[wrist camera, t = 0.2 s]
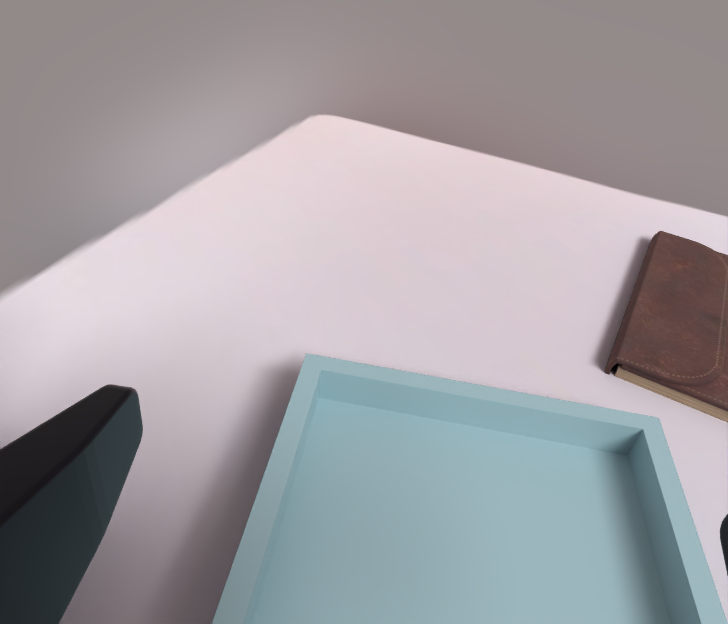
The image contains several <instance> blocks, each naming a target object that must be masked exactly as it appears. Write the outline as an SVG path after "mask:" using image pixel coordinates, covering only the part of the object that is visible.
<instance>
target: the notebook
mask: <svg viewBox="0 0 728 624" xmlns="http://www.w3.org/2000/svg"><path fill="white" fill-rule="evenodd" d="M617 363H618V366H617V369H616V372H615V375H614V376H616V377H618V378H621V379H623V380H626V381H628V382H631V383H633V384H636V385H638V386H640V387H643V388H645V389H648V390H650V391H653V392H655V393H658V394H660V395H662V396H665V397H667V398H670V399H672V400H675V401H677V402H680V403H682V404H684V405H687V406H689V407H692V408H694V409H697V410H699V411H701V412H704V413H706V414H709V415H711V416H714V417H716V418H719V419H721V420H723V421H726V422H728V255H725V254H722V253H719V252H716V251H714V250H712V249H711V248H709V247H707V246H705V245H702V244H700V243H698V242H695V241H692V240H689V239H686V238H682V237H679V236H676V235H673V234H670V233H666V232H663V231H659V232H658V233H657V234H655V235H654V236H653V238H652V240H651V243H650V245H649V248H648V251H647V254H646V257H645V259H644V262H643V265H642V268H641V271H640V274H639V276H638V279H637V282H636V285H635V288H634V290H633V293H632V296H631V299H630V302H629V305H628V307H627V310H626V313H625V316H624V319H623V321H622V324H621V327H620V330H619V333H618V335H617V338H616V341H615V344H614V347H613V350H612V352H611V355H610V358H609V361H608V364H607V366H606V369H605V373H606V374H610V371H611V368H612V367H613V366H614V365H615V364H617Z"/></svg>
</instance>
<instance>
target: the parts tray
mask: <svg viewBox="0 0 728 624" xmlns="http://www.w3.org/2000/svg"><path fill="white" fill-rule="evenodd" d="M212 624H728V623H727V620H726V617H725V614H724V611H723V608H722V605H721V602H720V599H719V596H718V593H717V590H716V587H715V584H714V581H713V578H712V575H711V572H710V569H709V566H708V563H707V560H706V557H705V554H704V551H703V548H702V545H701V542H700V539H699V536H698V533H697V530H696V527H695V524H694V521H693V518H692V515H691V512H690V509H689V506H688V503H687V500H686V497H685V494H684V491H683V488H682V485H681V482H680V479H679V476H678V474H677V471H676V468H675V465H674V462H673V459H672V456H671V453H670V450H669V447H668V444H667V441H666V438H665V435H664V432H663V429H662V426H661V423H660V420H659V418H658V417H652V416H647V415H641V414H636V413H630V412H625V411H619V410H614V409H608V408H603V407H598V406H592V405H587V404H581V403H576V402H570V401H565V400H559V399H554V398H548V397H543V396H537V395H532V394H526V393H521V392H516V391H510V390H505V389H499V388H494V387H488V386H483V385H477V384H472V383H466V382H461V381H455V380H450V379H444V378H439V377H433V376H428V375H423V374H417V373H412V372H406V371H401V370H395V369H390V368H384V367H379V366H373V365H368V364H362V363H357V362H351V361H346V360H340V359H335V358H330V357H324V356H319V355H313V354H308V353H306V356H305V359H304V361H303V364H302V367H301V370H300V373H299V376H298V379H297V381H296V384H295V387H294V390H293V393H292V396H291V399H290V401H289V404H288V407H287V410H286V413H285V416H284V419H283V421H282V424H281V427H280V430H279V433H278V436H277V439H276V441H275V444H274V447H273V450H272V453H271V456H270V459H269V461H268V464H267V467H266V470H265V473H264V476H263V479H262V481H261V484H260V487H259V490H258V493H257V496H256V499H255V501H254V504H253V507H252V510H251V513H250V516H249V519H248V521H247V524H246V527H245V530H244V533H243V536H242V539H241V541H240V544H239V547H238V550H237V553H236V556H235V559H234V561H233V564H232V567H231V570H230V573H229V576H228V579H227V581H226V584H225V587H224V590H223V593H222V596H221V599H220V602H219V604H218V607H217V610H216V613H215V616H214V619H213V622H212Z"/></svg>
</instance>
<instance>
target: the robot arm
mask: <svg viewBox="0 0 728 624" xmlns="http://www.w3.org/2000/svg"><path fill="white" fill-rule="evenodd" d="M142 431H143V426H142V419H141V412H140V405H139V398H138V394H137V392H136V390H135V389H133V388H131V387H124V386H118V385H106V386H104V387H102V388H100V389H98V390H97V391H95V392H93V393H92V394H90V395H89V396H87V397H85V398H84V399H82V400H80V401H79V402H77V403H75V404H74V405H72V406H71V407H69V408H67V409H66V410H64V411H62V412H61V413H59V414H57V415H56V416H54V417H53V418H51V419H49V420H48V421H46V422H44V423H43V424H41V425H39V426H38V427H36V428H35V429H33V430H31V431H30V432H28V433H26V434H25V435H23V436H21V437H20V438H18V439H17V440H15V441H13V442H12V443H10V444H8V445H7V446H5V447H3V448H2V449H0V624H59V622H60V620H61V618H62V616H63V614H64V612H65V610H66V608H67V606H68V604H69V603H70V601H71V599H72V597H73V595H74V593H75V591H76V589H77V587H78V585H79V583H80V581H81V579H82V578H83V576H84V574H85V572H86V570H87V568H88V566H89V564H90V562H91V560H92V558H93V556H94V554H95V552H96V551H97V548H98V546H99V544H100V542H101V540H102V538H103V536H104V534H105V531H106V529H107V527H108V524H109V522H110V519H111V517H112V514H113V512H114V509H115V506H116V504H117V501H118V499H119V496H120V493H121V491H122V488H123V486H124V483H125V480H126V478H127V475H128V473H129V470H130V468H131V465H132V462H133V460H134V457H135V455H136V452H137V449H138V447H139V444H140V441H141V438H142ZM720 540H721V545H722V550H723V555H724V560H725V565H726V570H727V575H728V514H727V515H726V517H725V518H724V520H723V521H722V524H721V528H720Z"/></svg>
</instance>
